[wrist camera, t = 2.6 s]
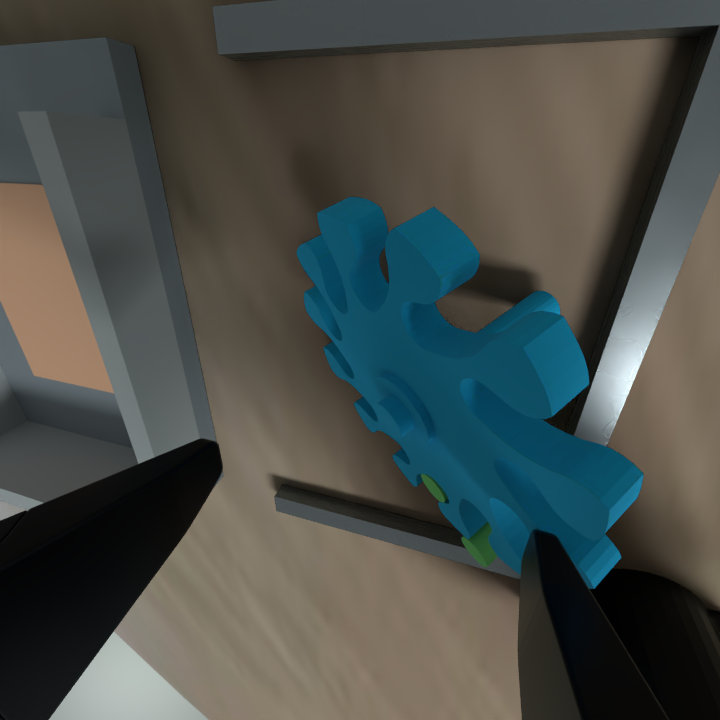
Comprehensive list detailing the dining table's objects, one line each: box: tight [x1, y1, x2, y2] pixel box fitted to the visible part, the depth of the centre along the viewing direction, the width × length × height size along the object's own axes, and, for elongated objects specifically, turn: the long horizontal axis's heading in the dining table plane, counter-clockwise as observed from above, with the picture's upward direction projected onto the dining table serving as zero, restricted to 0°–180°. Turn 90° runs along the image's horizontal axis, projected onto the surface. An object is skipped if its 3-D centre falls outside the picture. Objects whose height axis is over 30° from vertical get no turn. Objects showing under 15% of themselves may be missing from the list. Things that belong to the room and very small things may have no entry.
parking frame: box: [212, 0, 720, 579], centre depth 13 cm, size 12×19×1 cm, turn 179°
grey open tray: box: [0, 37, 223, 510], centre depth 16 cm, size 13×18×5 cm
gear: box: [296, 197, 644, 589], centre depth 11 cm, size 11×6×10 cm
